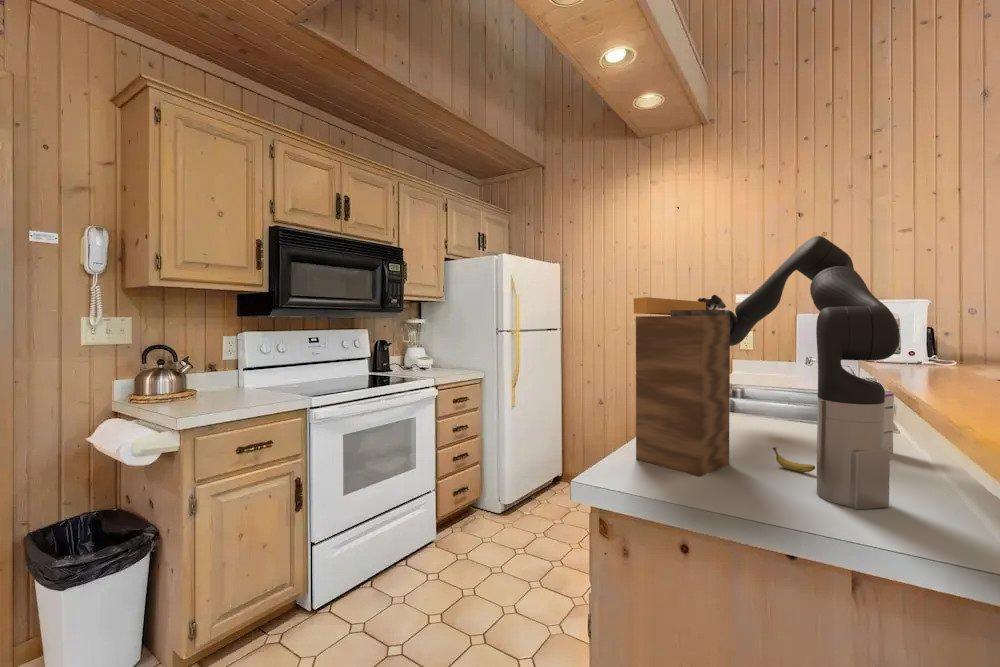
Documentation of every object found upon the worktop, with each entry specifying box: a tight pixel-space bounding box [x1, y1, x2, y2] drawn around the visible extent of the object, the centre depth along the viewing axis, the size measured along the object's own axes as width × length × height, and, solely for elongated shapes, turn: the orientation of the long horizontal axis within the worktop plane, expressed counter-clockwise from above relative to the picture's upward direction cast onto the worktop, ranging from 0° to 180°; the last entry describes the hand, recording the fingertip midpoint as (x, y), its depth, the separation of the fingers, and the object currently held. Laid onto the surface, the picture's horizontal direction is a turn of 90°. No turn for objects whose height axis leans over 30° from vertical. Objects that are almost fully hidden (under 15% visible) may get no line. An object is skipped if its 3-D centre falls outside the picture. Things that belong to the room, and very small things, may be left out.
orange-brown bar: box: [633, 296, 706, 316], centre depth 105 cm, size 24×3×3 cm, turn 128°
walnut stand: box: [635, 309, 731, 478], centre depth 101 cm, size 12×15×33 cm
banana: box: [772, 446, 816, 473], centre depth 96 cm, size 8×2×4 cm, turn 32°
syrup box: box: [884, 389, 895, 454], centre depth 108 cm, size 6×6×14 cm
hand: (685, 312), depth 115 cm, fingers open, 8 cm apart
